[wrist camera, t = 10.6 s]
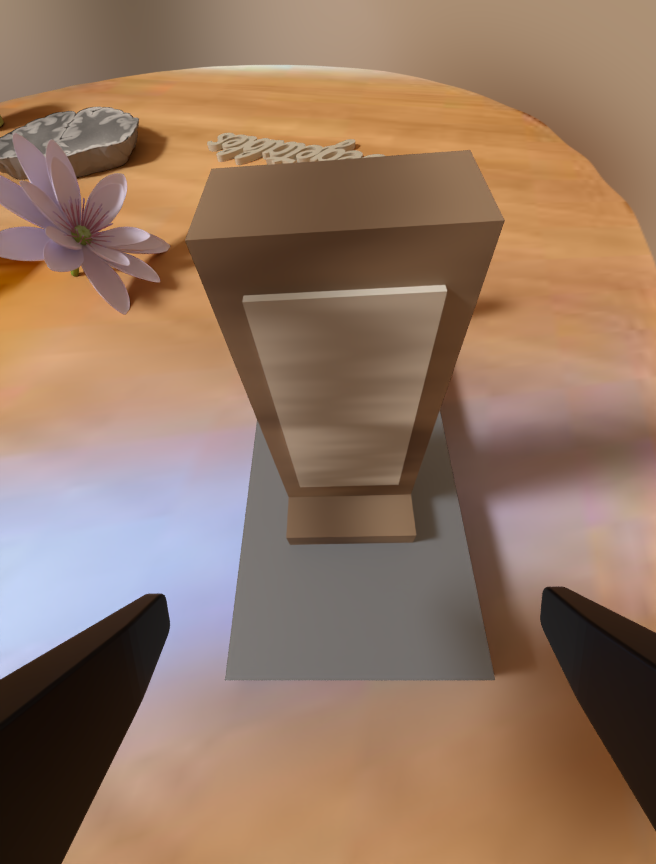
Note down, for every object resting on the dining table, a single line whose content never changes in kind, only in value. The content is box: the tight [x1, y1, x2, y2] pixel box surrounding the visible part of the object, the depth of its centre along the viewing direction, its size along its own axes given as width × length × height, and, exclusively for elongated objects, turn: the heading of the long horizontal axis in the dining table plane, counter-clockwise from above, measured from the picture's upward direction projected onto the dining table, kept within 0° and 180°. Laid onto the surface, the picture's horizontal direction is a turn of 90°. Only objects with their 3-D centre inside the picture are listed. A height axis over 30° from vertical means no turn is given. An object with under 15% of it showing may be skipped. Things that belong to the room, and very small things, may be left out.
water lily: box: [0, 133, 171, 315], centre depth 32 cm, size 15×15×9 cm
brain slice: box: [0, 107, 139, 179], centre depth 50 cm, size 20×17×3 cm
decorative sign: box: [207, 133, 385, 165], centre depth 46 cm, size 26×1×10 cm
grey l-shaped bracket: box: [225, 411, 495, 680], centre depth 20 cm, size 24×11×7 cm, turn 0°
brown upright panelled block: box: [185, 150, 505, 545], centre depth 14 cm, size 6×7×14 cm
